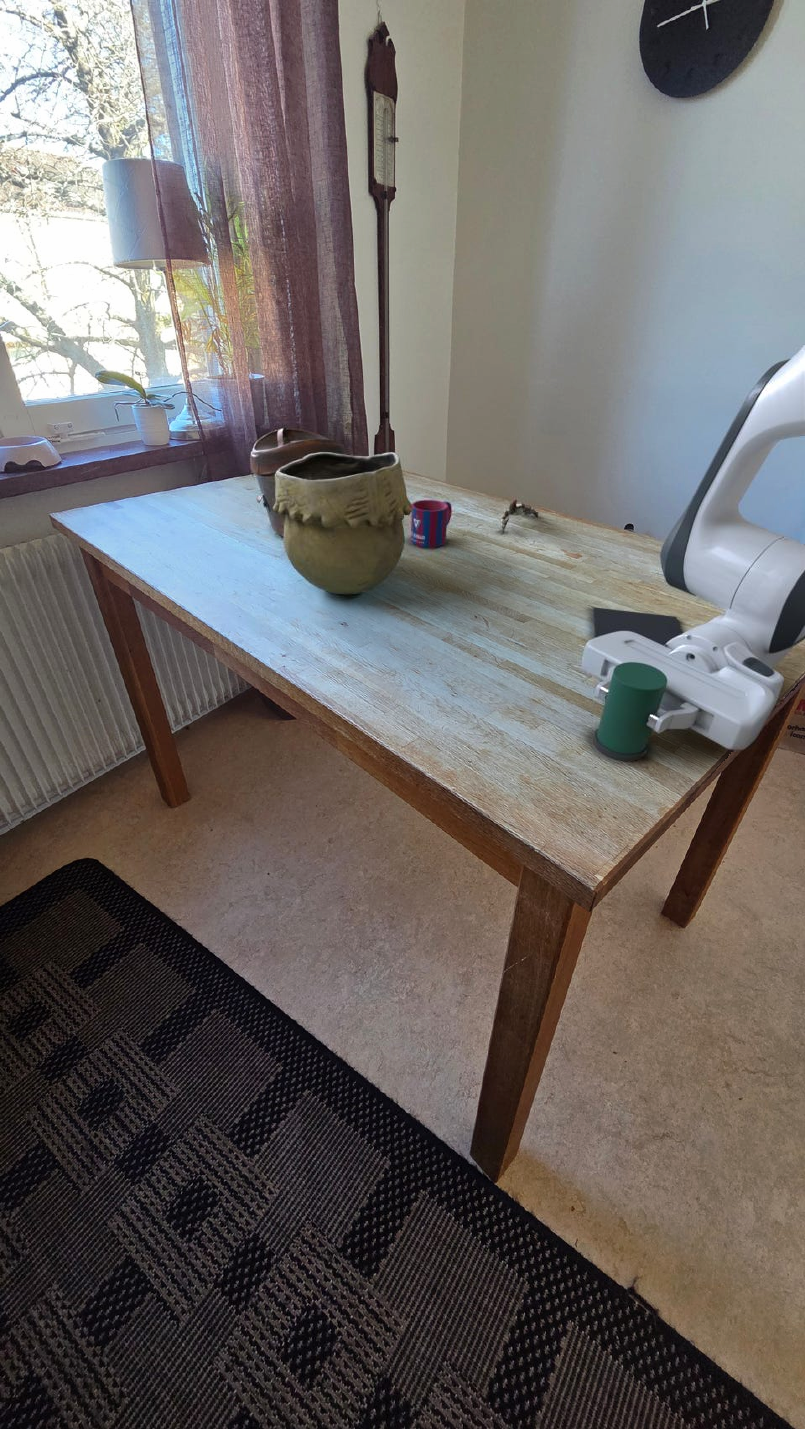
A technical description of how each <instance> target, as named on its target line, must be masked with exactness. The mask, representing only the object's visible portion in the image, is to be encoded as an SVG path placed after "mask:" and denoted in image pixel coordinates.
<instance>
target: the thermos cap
mask: <svg viewBox="0 0 805 1429" xmlns="http://www.w3.org/2000/svg"><path fill="white" fill-rule="evenodd" d="M666 685H667V677H666V675H665V674H664V673H663V672H662V671H660V670H659V669H657V668H655V667H653V666H650V665H647V664H644V663H638V662H626V663H622V664H619V665H617V666H616V667H615V668H614V671H613V675H612V678H611V682H610V686H609V690H608V693H607V697H606V701H605V702H604V705H603V707H602V708H603V709H602V713H601V716H600V720H599V724H598V727H597V729H596V730H595V732H594V735H593V744H594V746H595V747H596V749H597V750H598V751H599V752H600V753H601V754H603V755H604V756H606V757H608V758H610V759H613V760H616V761H622V762H634V761H638V760H640V759H642V758H643V757H645V755H646V753H647V751H648V748H649V742H648V741H649V739H650V735H651V734H652V733H651V732H652V731H653V730H652V729H651V728H649V727H647V726H646V723H647V722H648V717H649V715H650V714H651V713H652V712H654V711H656V710H657V709H659V706H660V703H661V700H662V697H663V694H664V691H665V688H666Z"/></svg>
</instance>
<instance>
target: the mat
mask: <svg viewBox="0 0 805 1429" xmlns="http://www.w3.org/2000/svg"><path fill="white" fill-rule="evenodd" d="M592 613H593V614H592V618H593V631H594V633H593V634H594V638H596V637H599V636H602V635H606V634H609V633H613V632H618V631H630V632H634V633H637V634H639V635H641V636H643V637H646V638H648V639H650V640H652V641H654V642H656V643H659V644H661V645H663V646H664V645H665V644H666V643H667V642H669V641H670V640H671V639H673V638H675V637H677V636H679V635H681V634H682V631H681V628H680V625H679V622H678V618H677V616H673V615H664V614H656V613H655V614H654V613H648V612H637V611H629V610H621V609H612V608H603V607H593V609H592Z"/></svg>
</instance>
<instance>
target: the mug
mask: <svg viewBox="0 0 805 1429" xmlns="http://www.w3.org/2000/svg"><path fill="white" fill-rule="evenodd" d="M411 504H412V511H411V514H410V543H411V544H412V545H413V546H415V547H419V548H427V549H432V548H433V549H434V548H440V547H442V546H444V545H445V544H446V543H447V530H448V529H447V528H448V525H449V523H450V521H451V519H452V514H453V513H452V511H453V510H452V509H453V508H452V504H451V502H449V501H445V500H444V501H440V500H436V499H421V500H416V501H414V502H411Z"/></svg>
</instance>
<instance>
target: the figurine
mask: <svg viewBox="0 0 805 1429" xmlns="http://www.w3.org/2000/svg"><path fill="white" fill-rule="evenodd" d="M539 513H540V511H536V510H535V509H534V508H532V506H531V505H529V504H527V503H523V502H519V503H518V500H517V499H514V500H513V501H512V502H511V503H510V504H509V506H508V509H506V510H505V511H504V513H503V515H502V516H501V517H500V518H499V519H500V523H501V528H502V529H501V530H500V532H501V533H504V532H505V529H506V527H507V525H508V522H509V520H510V516H514V517H515V516H521V515H524V516H525V517H526V516H530V515H533V516H534V517H535V518H539Z"/></svg>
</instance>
